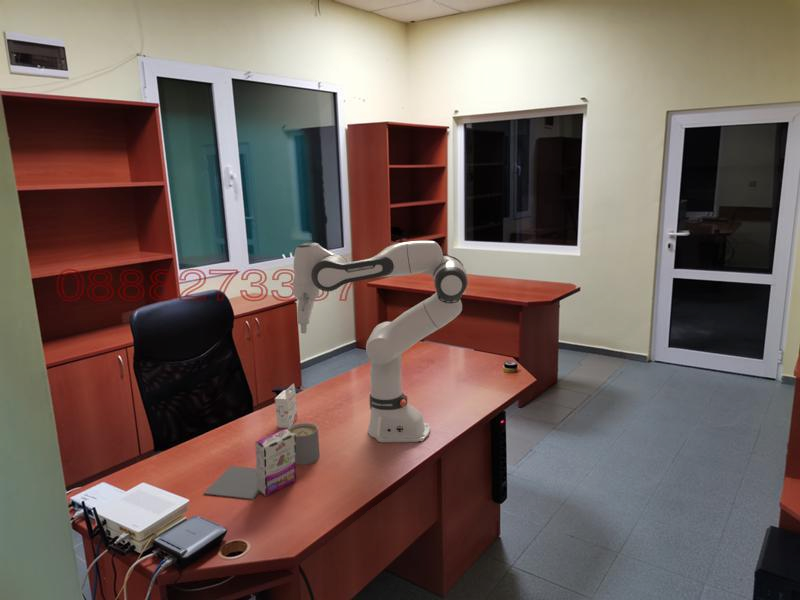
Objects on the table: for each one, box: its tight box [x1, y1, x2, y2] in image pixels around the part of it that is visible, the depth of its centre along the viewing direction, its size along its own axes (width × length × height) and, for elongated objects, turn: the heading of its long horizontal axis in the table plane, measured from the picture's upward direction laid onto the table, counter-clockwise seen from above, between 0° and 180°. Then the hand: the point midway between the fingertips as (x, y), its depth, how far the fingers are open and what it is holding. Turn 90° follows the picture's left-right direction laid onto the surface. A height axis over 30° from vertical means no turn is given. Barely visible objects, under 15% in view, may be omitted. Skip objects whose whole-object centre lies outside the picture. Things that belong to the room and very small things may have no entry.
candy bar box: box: [255, 428, 297, 497], centre depth 167 cm, size 11×5×16 cm, turn 138°
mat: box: [203, 465, 261, 501], centre depth 172 cm, size 16×16×1 cm
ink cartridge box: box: [274, 383, 298, 429], centre depth 211 cm, size 9×5×15 cm, turn 168°
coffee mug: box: [287, 422, 320, 466], centre depth 187 cm, size 13×10×10 cm
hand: (305, 328), depth 196 cm, fingers open, 8 cm apart
